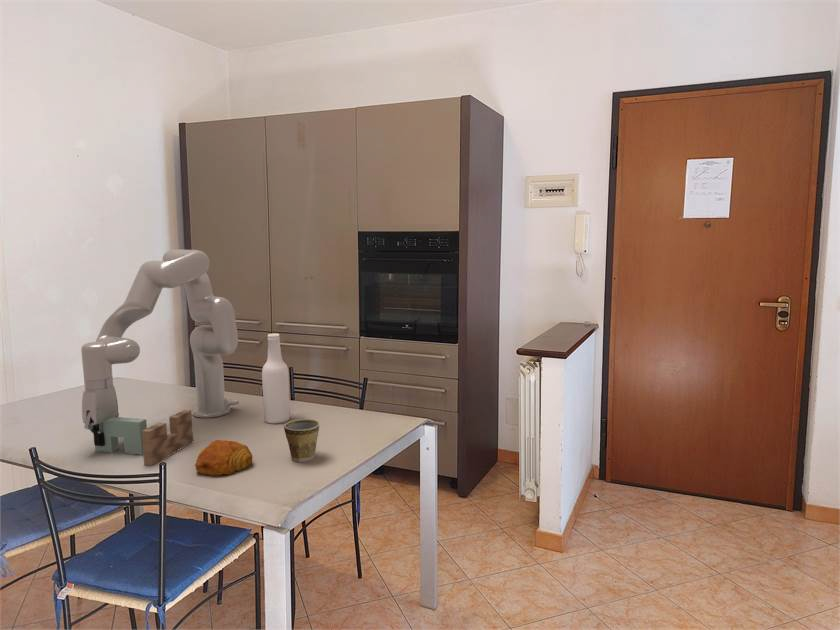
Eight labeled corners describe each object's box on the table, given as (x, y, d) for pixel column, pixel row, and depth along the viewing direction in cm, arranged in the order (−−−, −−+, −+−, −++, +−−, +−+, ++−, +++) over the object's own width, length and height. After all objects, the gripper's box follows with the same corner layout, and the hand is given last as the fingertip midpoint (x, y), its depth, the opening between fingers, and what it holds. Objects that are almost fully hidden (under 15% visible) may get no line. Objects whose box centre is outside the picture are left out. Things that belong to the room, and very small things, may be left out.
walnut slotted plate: (186, 440, 193) (184, 409, 191) (193, 441, 192) (191, 410, 191) (144, 465, 174) (141, 430, 172) (152, 465, 173) (149, 431, 172)
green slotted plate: (95, 451, 185) (92, 418, 183) (102, 447, 188) (99, 415, 186) (142, 455, 181) (139, 422, 180) (148, 451, 184) (146, 419, 183)
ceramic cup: (322, 462, 175) (321, 428, 173) (286, 466, 172) (285, 431, 171) (316, 446, 187) (315, 414, 186) (283, 450, 184) (281, 417, 183)
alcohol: (263, 417, 215) (259, 333, 211) (288, 415, 218) (285, 331, 213) (265, 425, 207) (261, 337, 203) (291, 422, 210) (288, 335, 205)
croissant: (219, 461, 182) (215, 435, 181) (262, 462, 176) (258, 434, 175) (183, 479, 169) (178, 450, 168) (227, 480, 162) (223, 450, 162)
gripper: (107, 376, 191) (112, 433, 194) (66, 390, 176) (72, 452, 178) (128, 377, 190) (133, 435, 192) (89, 391, 174) (95, 454, 177)
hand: (104, 442), depth 185 cm, fingers closed on green slotted plate, 3 cm apart
